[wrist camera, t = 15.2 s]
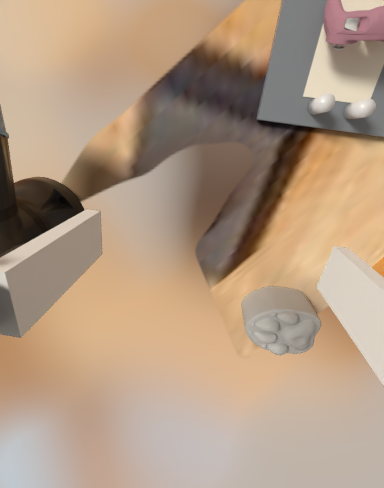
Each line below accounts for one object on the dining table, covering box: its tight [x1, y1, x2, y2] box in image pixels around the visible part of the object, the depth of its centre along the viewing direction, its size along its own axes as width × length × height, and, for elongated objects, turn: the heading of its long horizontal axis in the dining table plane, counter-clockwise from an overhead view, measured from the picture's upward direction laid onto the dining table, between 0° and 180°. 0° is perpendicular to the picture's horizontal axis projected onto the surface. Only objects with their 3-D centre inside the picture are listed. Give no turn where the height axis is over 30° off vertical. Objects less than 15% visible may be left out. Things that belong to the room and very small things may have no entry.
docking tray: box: [256, 0, 384, 137], centre depth 29 cm, size 20×20×5 cm
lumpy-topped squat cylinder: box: [241, 286, 321, 355], centre depth 46 cm, size 10×13×9 cm
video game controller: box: [323, 0, 384, 51], centre depth 27 cm, size 10×5×7 cm, turn 90°
